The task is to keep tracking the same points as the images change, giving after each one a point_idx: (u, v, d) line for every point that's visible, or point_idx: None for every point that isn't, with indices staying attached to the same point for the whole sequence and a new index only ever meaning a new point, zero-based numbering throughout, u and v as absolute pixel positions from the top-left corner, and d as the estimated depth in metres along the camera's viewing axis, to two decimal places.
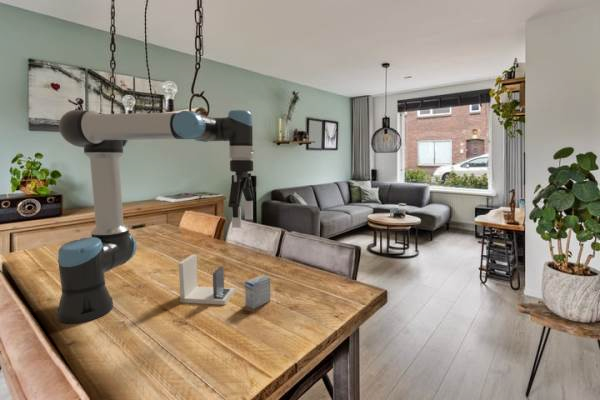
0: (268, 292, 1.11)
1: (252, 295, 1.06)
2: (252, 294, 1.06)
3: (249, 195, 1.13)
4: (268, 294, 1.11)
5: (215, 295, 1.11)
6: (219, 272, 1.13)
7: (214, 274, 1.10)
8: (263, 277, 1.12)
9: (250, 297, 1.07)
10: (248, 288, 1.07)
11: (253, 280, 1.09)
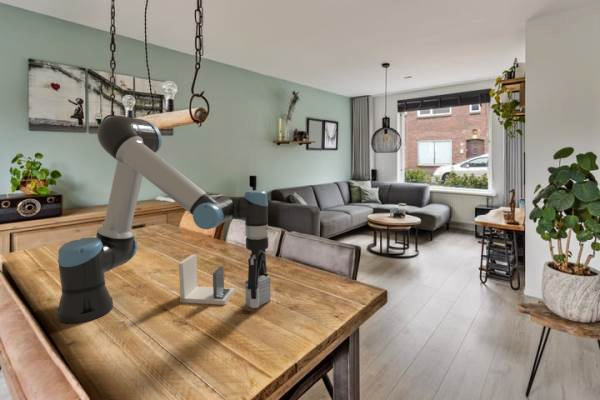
0: (268, 292, 1.11)
1: None
2: None
3: (262, 271, 1.14)
4: (268, 294, 1.11)
5: (215, 295, 1.11)
6: (219, 272, 1.13)
7: (214, 274, 1.10)
8: (263, 277, 1.12)
9: None
10: None
11: None
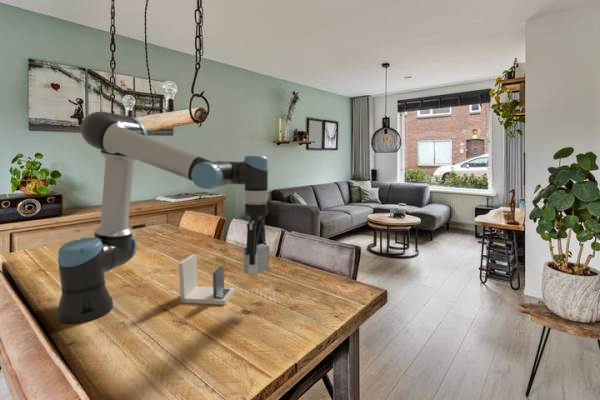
0: (267, 260, 1.10)
1: None
2: None
3: (261, 239, 1.12)
4: (267, 262, 1.10)
5: (215, 295, 1.11)
6: (219, 272, 1.13)
7: (214, 274, 1.10)
8: (262, 245, 1.10)
9: None
10: (247, 255, 1.06)
11: None
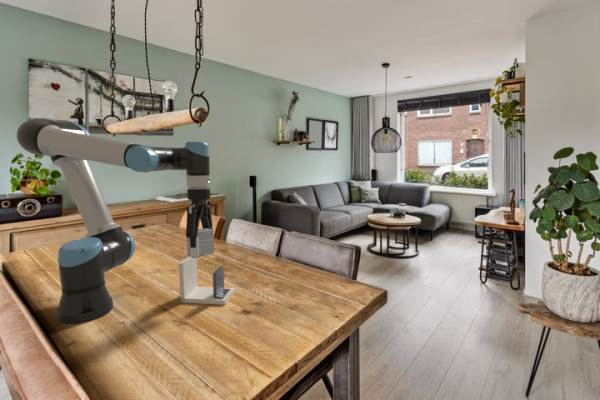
0: (211, 244, 1.13)
1: None
2: None
3: (206, 224, 1.15)
4: (211, 246, 1.13)
5: (215, 295, 1.11)
6: (219, 272, 1.13)
7: (214, 274, 1.10)
8: (206, 229, 1.13)
9: None
10: (189, 238, 1.09)
11: None
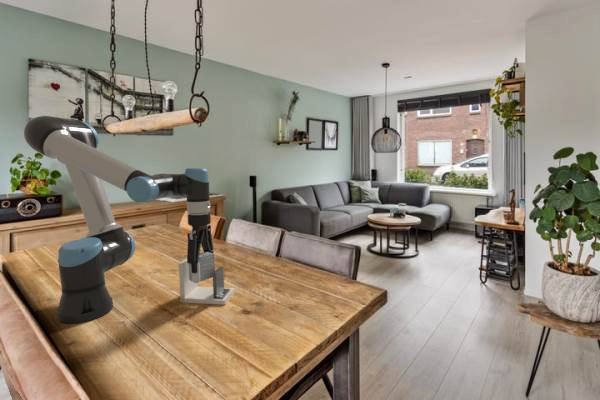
0: (212, 268, 1.14)
1: None
2: None
3: (207, 247, 1.16)
4: (212, 270, 1.14)
5: (215, 295, 1.11)
6: (219, 272, 1.13)
7: (214, 274, 1.10)
8: (207, 253, 1.14)
9: None
10: (190, 263, 1.10)
11: None
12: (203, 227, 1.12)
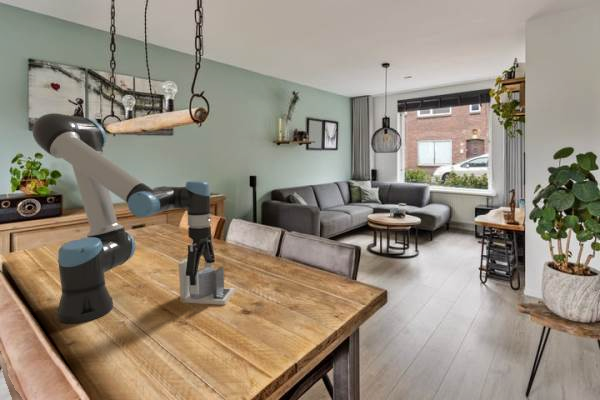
0: (212, 284, 1.15)
1: None
2: None
3: (209, 257, 1.18)
4: (212, 286, 1.15)
5: (215, 295, 1.11)
6: (219, 272, 1.13)
7: (214, 274, 1.10)
8: (208, 269, 1.15)
9: None
10: None
11: (197, 272, 1.12)
12: (203, 241, 1.12)
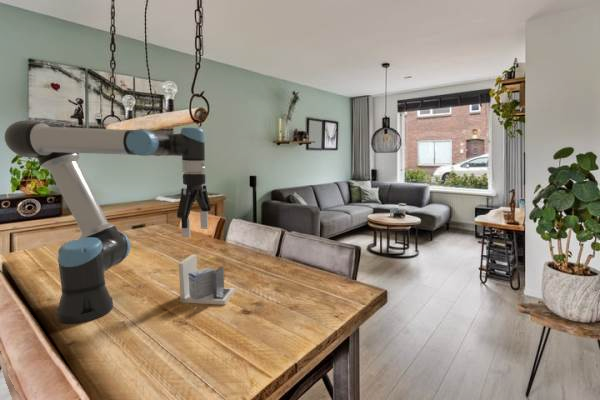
0: (212, 284, 1.15)
1: (194, 286, 1.10)
2: (194, 285, 1.10)
3: (204, 206, 1.20)
4: (212, 285, 1.15)
5: (215, 295, 1.11)
6: (219, 272, 1.13)
7: (214, 274, 1.10)
8: (208, 269, 1.15)
9: (192, 288, 1.11)
10: (191, 279, 1.11)
11: (197, 272, 1.12)
12: (198, 189, 1.14)
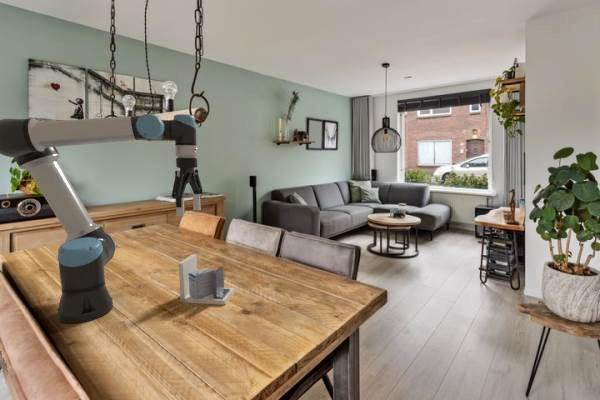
0: (212, 284, 1.15)
1: (194, 286, 1.10)
2: (194, 285, 1.10)
3: (196, 189, 1.28)
4: (212, 285, 1.15)
5: (215, 295, 1.11)
6: (219, 272, 1.13)
7: (214, 274, 1.10)
8: (208, 269, 1.15)
9: (192, 288, 1.11)
10: (191, 279, 1.11)
11: (197, 272, 1.12)
12: (190, 172, 1.22)
